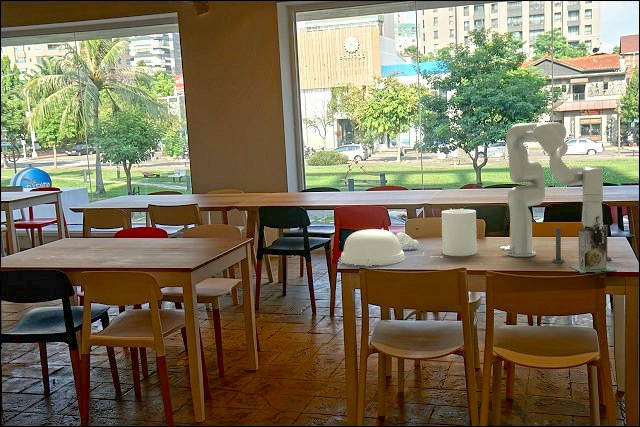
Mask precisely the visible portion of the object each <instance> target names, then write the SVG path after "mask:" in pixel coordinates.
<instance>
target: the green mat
mask: <svg viewBox="0 0 640 427" xmlns="http://www.w3.org/2000/svg"><path fill="white" fill-rule="evenodd" d="M569 268H571V269H573V270H574V269H575V270H574V271H576V270H577V271H576V272H578V271H579V272H578V273H580V274H587V273H586V272H595V273H602V272H601V271H615V272H617V269H615V268H613V267H611V266H608V265H606V269H590V270H584V269H582V268H580V267H579V265H569Z"/></svg>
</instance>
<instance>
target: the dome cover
mask: <svg viewBox="0 0 640 427" xmlns="http://www.w3.org/2000/svg"><path fill="white" fill-rule="evenodd" d="M401 247H402V245H401V244H400V242H399V240H398V238H397V237H396V234H394V232H391V231H388V230H385V229H377V228H372V229H371V228H369V229H362V230H357V231H355V232H352V233H351V234H350V235H348V237H347V238H346V239H345V242H344V246H343V251H342V252H341V255H340V262H341V263H343V264H345V265H349V264H354V265H353V266H356V265H365V266H364V267H373V266H372V265H379V266H387V265H394V264H398V263H401V262H403V261H404V260H405V259H406V258H405V252H404V250H403V249H402V250H401ZM347 263H349V264H347Z"/></svg>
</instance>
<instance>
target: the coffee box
mask: <svg viewBox="0 0 640 427" xmlns="http://www.w3.org/2000/svg"><path fill="white" fill-rule="evenodd" d="M596 229H597V228H596ZM577 231H578V266H579V267H580V268H582V269H584V270H590V269H606V266H607V261H606V229H602V242H601V243H594V242H593V233H595V232H594V229H593V227H591V228H584V227H583V228H577Z"/></svg>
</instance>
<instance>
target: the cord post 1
mask: <svg viewBox="0 0 640 427" xmlns="http://www.w3.org/2000/svg"><path fill="white" fill-rule="evenodd" d="M561 230H562V228H561V227H558V226H557V227H555V258H552V260H551V261H552V263H553V264H564V263H565V261H566V260H565V259H564V258H562V250H561V249H562V241H561V240H562V238H561V237H562V234H561V232H562V231H561Z"/></svg>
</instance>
